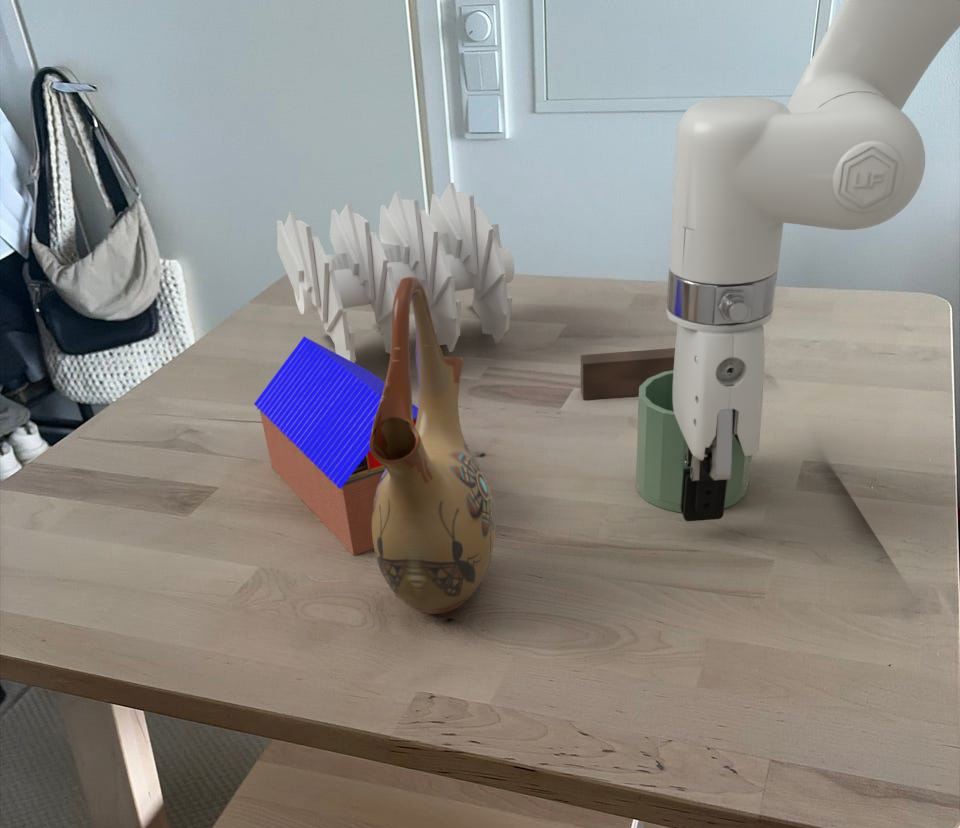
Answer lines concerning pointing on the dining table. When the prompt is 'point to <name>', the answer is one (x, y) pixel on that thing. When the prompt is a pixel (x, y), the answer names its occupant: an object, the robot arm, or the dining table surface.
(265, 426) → the house
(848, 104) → the robot arm
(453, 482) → the ceramic vessel
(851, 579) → the dining table surface
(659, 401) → the bucket
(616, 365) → the block
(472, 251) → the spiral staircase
